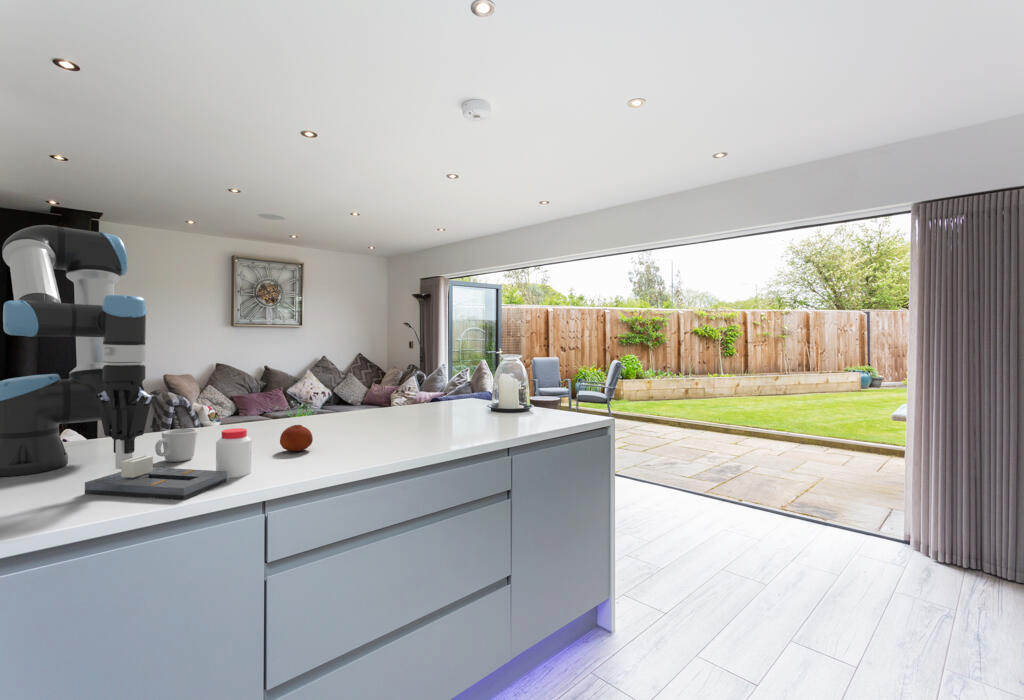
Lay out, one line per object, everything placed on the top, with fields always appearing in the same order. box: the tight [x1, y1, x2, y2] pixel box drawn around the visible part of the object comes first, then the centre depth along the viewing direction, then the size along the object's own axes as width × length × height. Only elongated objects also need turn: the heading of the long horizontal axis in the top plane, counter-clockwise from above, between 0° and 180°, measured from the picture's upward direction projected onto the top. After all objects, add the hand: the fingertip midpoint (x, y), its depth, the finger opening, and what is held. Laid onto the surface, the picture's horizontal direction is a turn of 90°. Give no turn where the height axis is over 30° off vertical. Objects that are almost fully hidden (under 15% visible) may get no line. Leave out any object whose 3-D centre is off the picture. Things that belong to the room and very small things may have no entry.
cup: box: [154, 428, 198, 463], centre depth 129 cm, size 11×8×8 cm
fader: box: [120, 455, 154, 478], centre depth 107 cm, size 4×5×5 cm
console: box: [84, 466, 228, 501], centre depth 107 cm, size 23×13×3 cm, turn 84°
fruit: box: [279, 424, 314, 453], centre depth 144 cm, size 9×9×8 cm
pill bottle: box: [215, 427, 253, 479], centre depth 119 cm, size 8×8×11 cm
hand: (123, 467), depth 108 cm, fingers closed
